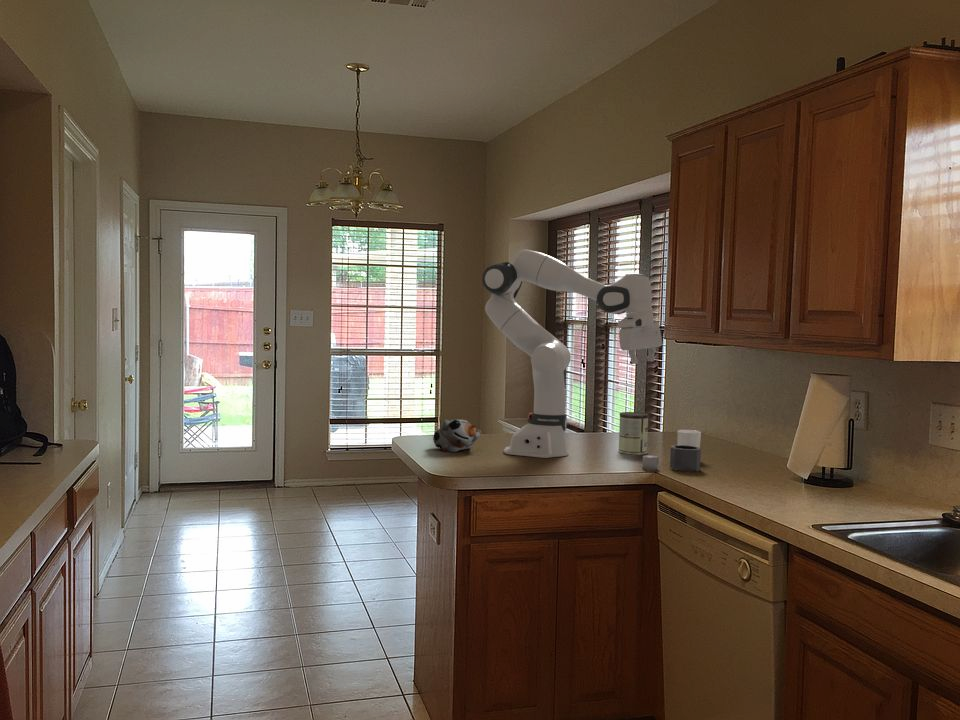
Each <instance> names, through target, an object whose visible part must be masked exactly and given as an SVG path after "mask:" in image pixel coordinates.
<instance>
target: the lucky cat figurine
mask: <svg viewBox="0 0 960 720" xmlns="http://www.w3.org/2000/svg"><path fill="white" fill-rule="evenodd" d="M481 434H482V430H480V429H477V426H476V425H473V424H471V423H470V421H468V420H466V419H461V418H460V419H459V418H458V419H451V420H449V419H445V420H444V421H443V423H442V425H441V426H440V428H438V429H437V430H436V431H434V434H433V436H432V437H433V438H432V439H433V443H434V445H435V448H439V449H440V451H442V452H446V453H447V452H448V453H457V452H458V451H461V450H467V449H468V450H469V449H472V446H473V444H475V442H476V441H477V440H478V439H479V437H480V436H481Z"/></svg>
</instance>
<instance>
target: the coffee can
mask: <svg viewBox="0 0 960 720" xmlns="http://www.w3.org/2000/svg"><path fill="white" fill-rule="evenodd" d="M649 417H650V415H649V413H647V412H646V413H645V412H640V411H639V412H638V411H622V412H620V413H619V426H618V427H619V430H618V431H619V432H618V453H620V454H625V455H638V456H639V455H642V456H644V455H646V454H647V455H648V435H649V434H648V433H649V432H648V431H649Z"/></svg>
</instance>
